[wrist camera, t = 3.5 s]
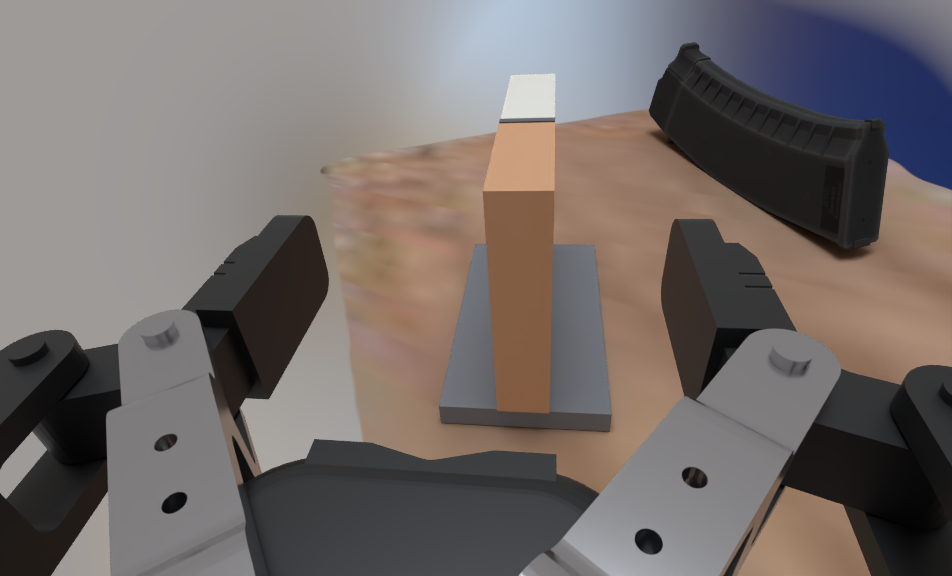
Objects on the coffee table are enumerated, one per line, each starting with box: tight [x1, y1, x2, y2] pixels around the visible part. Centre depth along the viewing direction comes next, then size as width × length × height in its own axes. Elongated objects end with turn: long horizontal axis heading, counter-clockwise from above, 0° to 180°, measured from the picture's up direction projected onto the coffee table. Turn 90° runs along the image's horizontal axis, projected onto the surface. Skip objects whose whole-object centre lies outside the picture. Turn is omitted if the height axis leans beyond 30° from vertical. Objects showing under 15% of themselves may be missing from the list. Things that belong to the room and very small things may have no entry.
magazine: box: [649, 43, 889, 249], centre depth 52 cm, size 17×3×30 cm
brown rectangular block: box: [483, 122, 555, 413], centre depth 30 cm, size 3×8×14 cm, turn 173°
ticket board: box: [439, 74, 612, 432], centre depth 35 cm, size 10×18×16 cm, turn 173°
